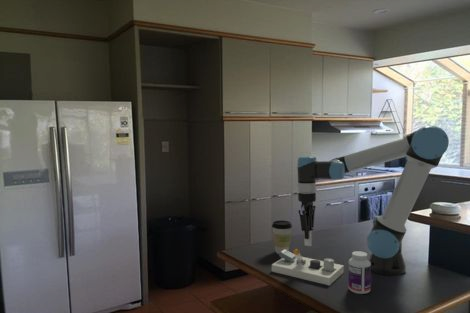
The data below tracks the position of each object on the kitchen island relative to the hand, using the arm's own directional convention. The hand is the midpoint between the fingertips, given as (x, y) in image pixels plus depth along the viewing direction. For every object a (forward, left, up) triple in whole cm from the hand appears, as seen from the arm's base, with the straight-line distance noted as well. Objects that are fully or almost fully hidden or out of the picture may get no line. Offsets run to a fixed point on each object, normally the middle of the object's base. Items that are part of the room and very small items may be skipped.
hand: (308, 245), depth 167 cm
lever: (+1, +4, -7) cm, 8 cm away
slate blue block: (+8, +4, -5) cm, 10 cm away
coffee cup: (+19, -12, -10) cm, 25 cm away
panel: (-2, +4, -10) cm, 11 cm away
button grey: (-11, +4, -7) cm, 14 cm away
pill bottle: (-26, +10, -10) cm, 30 cm away
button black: (-5, +4, -9) cm, 11 cm away
